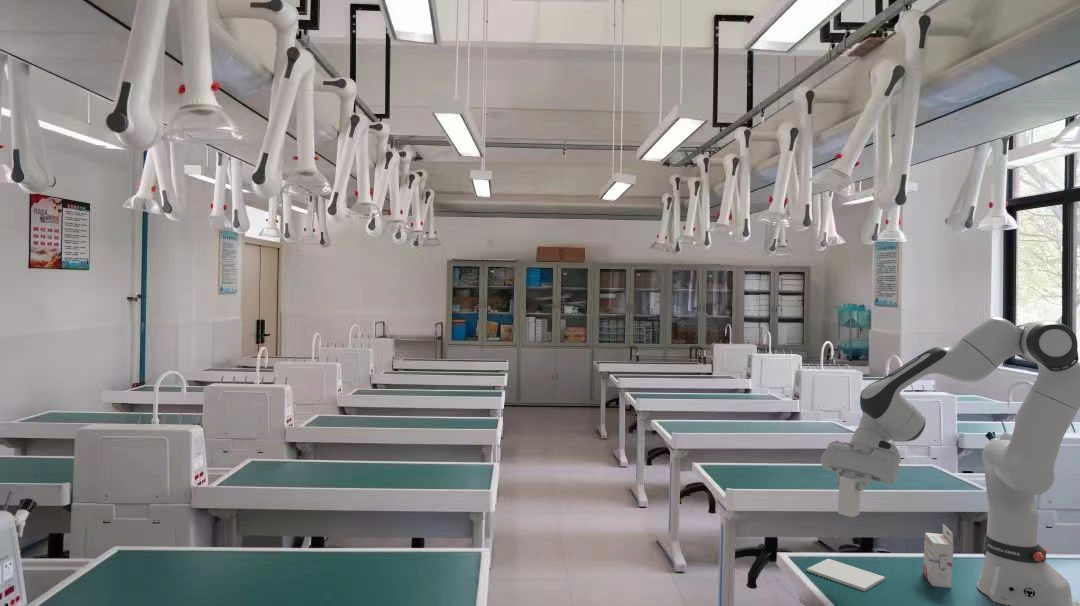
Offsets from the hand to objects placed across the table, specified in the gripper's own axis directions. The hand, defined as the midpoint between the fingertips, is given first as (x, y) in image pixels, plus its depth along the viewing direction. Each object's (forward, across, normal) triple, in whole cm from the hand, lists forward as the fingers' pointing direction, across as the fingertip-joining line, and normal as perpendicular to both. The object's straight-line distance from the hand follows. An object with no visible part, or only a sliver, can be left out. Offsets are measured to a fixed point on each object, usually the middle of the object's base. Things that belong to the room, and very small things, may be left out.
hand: (848, 487), depth 197 cm
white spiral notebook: (+17, 0, +18) cm, 24 cm away
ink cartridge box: (+5, +17, +30) cm, 35 cm away
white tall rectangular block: (+5, 0, +6) cm, 7 cm away
